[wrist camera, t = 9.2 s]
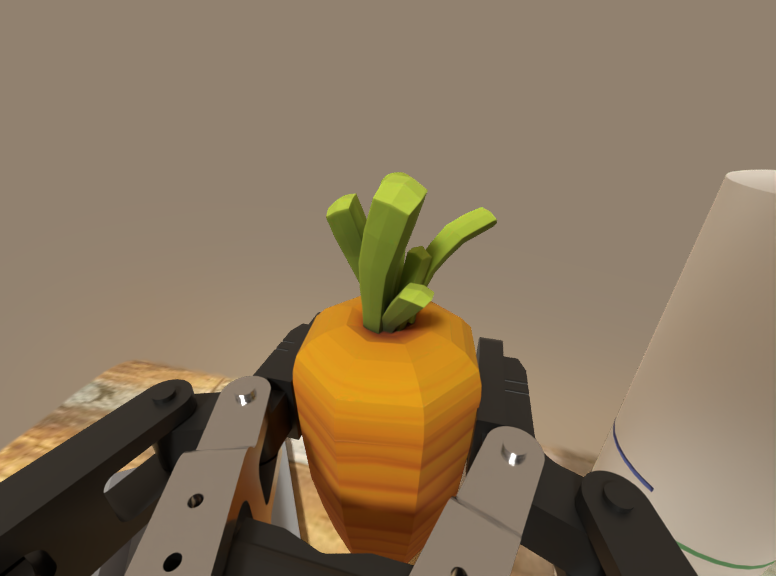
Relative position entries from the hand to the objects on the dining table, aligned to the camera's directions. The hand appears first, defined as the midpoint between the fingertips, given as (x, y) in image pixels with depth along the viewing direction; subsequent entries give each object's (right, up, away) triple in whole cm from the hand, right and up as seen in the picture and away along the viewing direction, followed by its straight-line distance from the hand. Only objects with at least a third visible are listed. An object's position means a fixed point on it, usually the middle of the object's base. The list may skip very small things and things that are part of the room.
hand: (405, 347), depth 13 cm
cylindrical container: (+14, -17, +10) cm, 24 cm away
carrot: (-1, -9, +2) cm, 9 cm away
